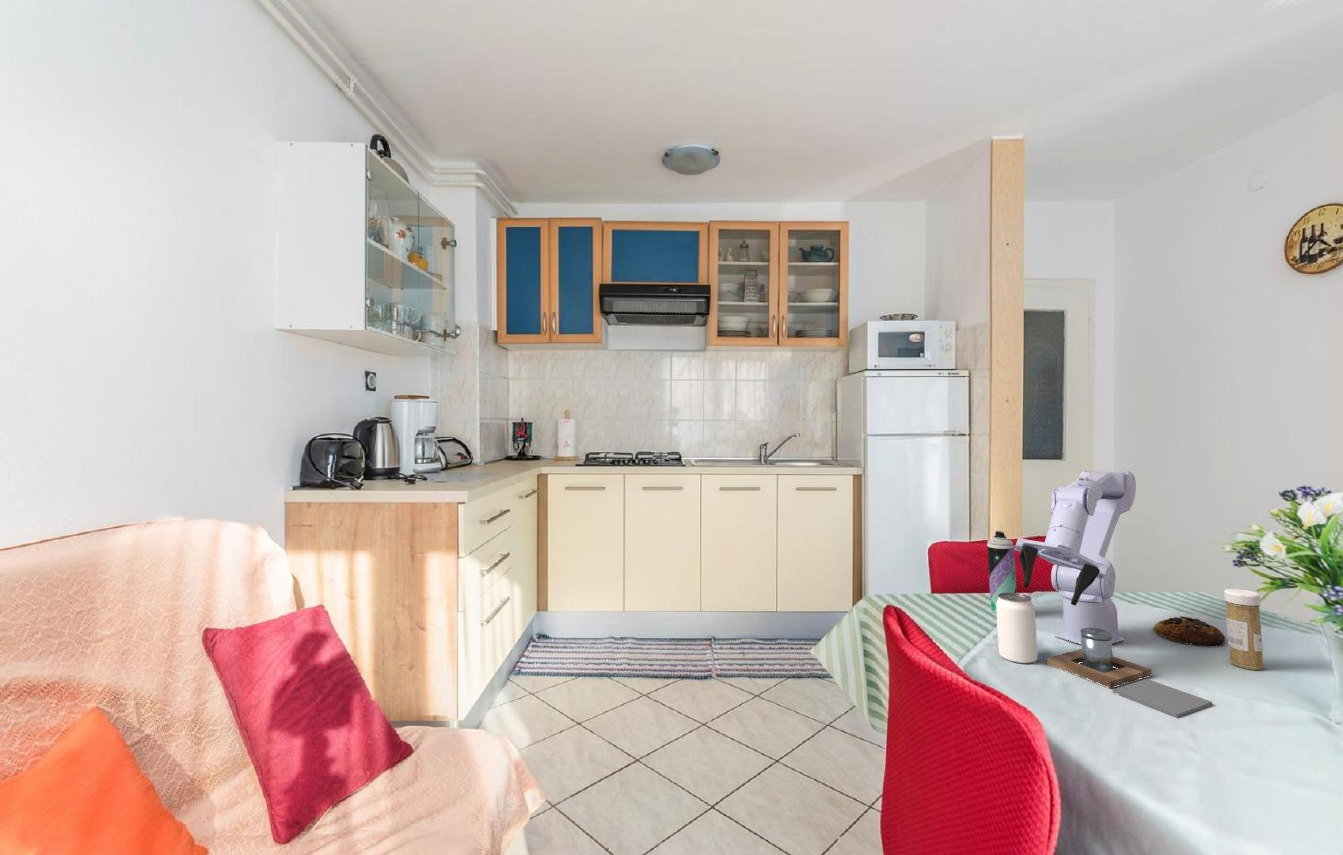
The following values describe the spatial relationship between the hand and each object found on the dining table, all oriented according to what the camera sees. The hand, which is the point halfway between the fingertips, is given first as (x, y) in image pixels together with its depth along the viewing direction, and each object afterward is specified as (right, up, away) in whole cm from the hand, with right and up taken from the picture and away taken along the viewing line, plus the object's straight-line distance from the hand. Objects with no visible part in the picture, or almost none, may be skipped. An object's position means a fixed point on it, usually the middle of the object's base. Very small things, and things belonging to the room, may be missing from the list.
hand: (1050, 593), depth 102 cm
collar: (+8, -14, -1) cm, 16 cm away
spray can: (+9, -14, +29) cm, 33 cm away
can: (-2, -15, +6) cm, 16 cm away
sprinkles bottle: (+34, -12, -2) cm, 36 cm away
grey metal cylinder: (+8, -14, -1) cm, 16 cm away
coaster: (+10, -14, -12) cm, 21 cm away
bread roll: (+37, -13, +11) cm, 40 cm away
